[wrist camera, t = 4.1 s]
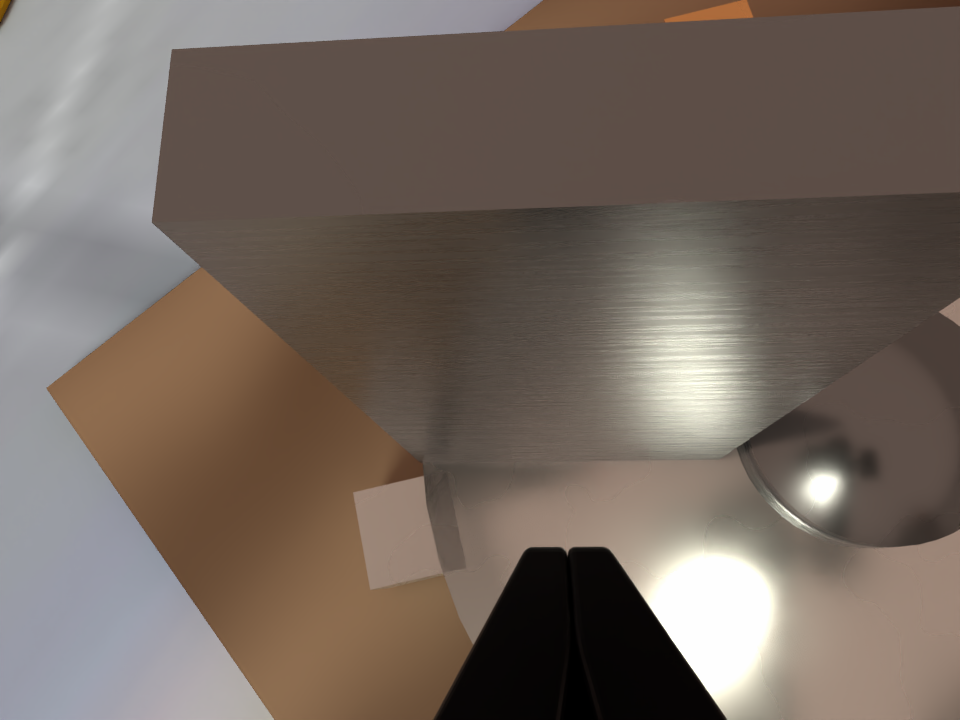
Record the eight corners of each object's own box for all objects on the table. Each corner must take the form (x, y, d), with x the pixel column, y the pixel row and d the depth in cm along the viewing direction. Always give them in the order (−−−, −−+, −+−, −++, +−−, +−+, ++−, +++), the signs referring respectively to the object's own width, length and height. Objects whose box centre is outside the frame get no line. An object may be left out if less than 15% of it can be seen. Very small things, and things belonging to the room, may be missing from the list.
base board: (1734, 510, 15) (2004, 495, 12) (836, 1515, 12) (919, 1785, 10) (799, -186, 21) (837, -303, 18) (59, 393, 18) (-28, 360, 16)
